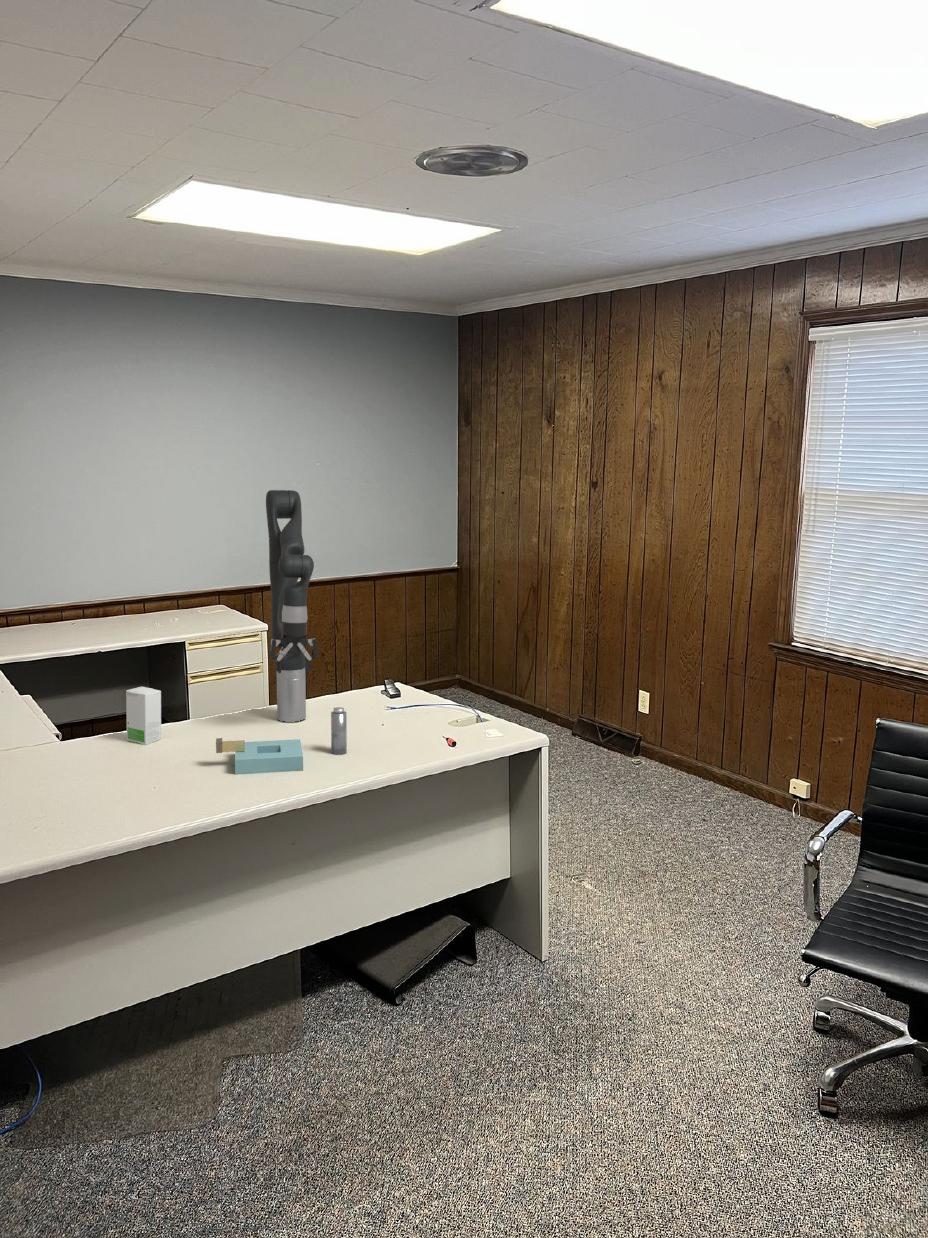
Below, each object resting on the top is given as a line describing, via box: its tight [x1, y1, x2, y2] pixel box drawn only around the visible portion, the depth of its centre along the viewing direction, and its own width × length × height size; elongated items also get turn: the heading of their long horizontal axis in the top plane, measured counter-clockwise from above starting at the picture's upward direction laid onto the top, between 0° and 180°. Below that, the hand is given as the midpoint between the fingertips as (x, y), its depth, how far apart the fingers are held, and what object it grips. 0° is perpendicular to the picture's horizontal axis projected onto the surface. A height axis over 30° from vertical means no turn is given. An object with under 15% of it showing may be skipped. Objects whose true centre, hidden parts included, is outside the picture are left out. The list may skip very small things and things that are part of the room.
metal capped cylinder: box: [330, 706, 348, 756], centre depth 262 cm, size 4×4×13 cm
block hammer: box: [215, 737, 246, 754], centre depth 250 cm, size 3×8×3 cm, turn 103°
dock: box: [234, 738, 304, 775], centre depth 253 cm, size 16×18×4 cm
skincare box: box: [125, 686, 162, 746], centre depth 271 cm, size 8×7×16 cm
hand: (293, 672), depth 278 cm, fingers open, 8 cm apart
